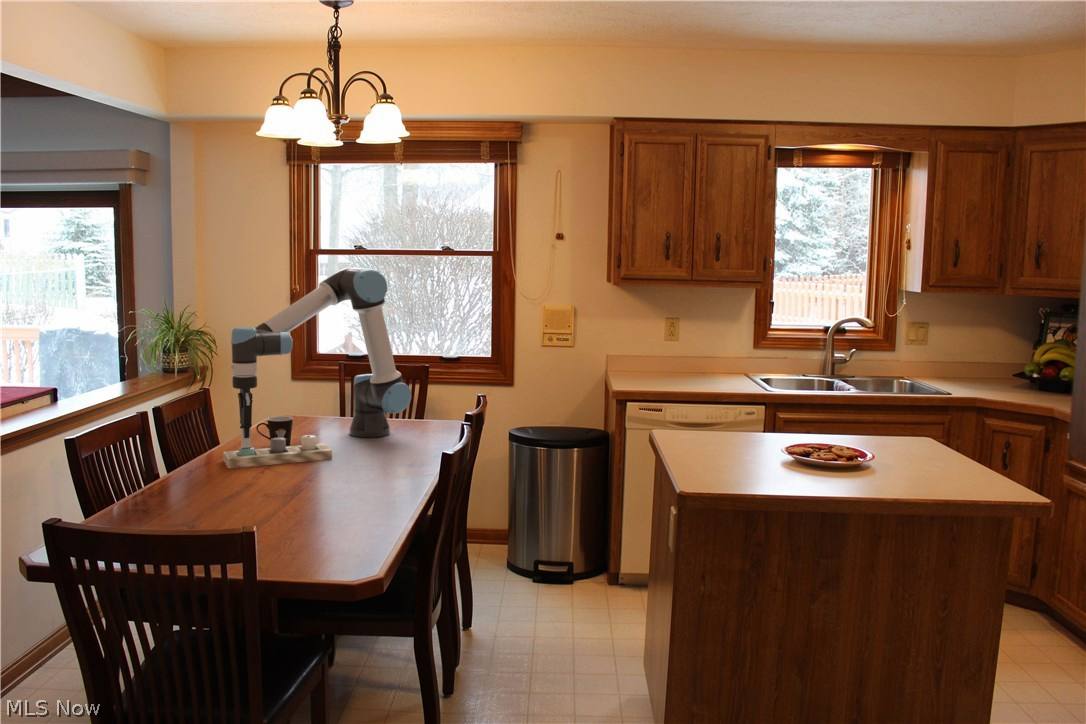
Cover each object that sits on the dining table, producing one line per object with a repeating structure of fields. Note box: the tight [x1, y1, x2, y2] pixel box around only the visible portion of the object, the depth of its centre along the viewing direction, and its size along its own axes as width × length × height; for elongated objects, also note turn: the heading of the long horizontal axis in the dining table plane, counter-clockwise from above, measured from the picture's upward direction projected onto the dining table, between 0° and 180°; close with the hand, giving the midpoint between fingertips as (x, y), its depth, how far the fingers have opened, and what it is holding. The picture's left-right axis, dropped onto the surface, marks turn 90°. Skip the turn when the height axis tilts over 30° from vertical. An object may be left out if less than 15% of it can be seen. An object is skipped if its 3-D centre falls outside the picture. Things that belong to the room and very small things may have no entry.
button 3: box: [238, 446, 255, 456], centre depth 276 cm, size 5×5×5 cm
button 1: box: [300, 434, 317, 451], centre depth 285 cm, size 5×5×5 cm
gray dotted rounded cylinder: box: [269, 438, 286, 454], centre depth 281 cm, size 5×5×5 cm
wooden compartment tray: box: [222, 443, 333, 469], centre depth 281 cm, size 33×11×3 cm, turn 117°
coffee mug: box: [256, 415, 294, 446], centre depth 300 cm, size 12×9×10 cm
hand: (246, 446), depth 276 cm, fingers closed
